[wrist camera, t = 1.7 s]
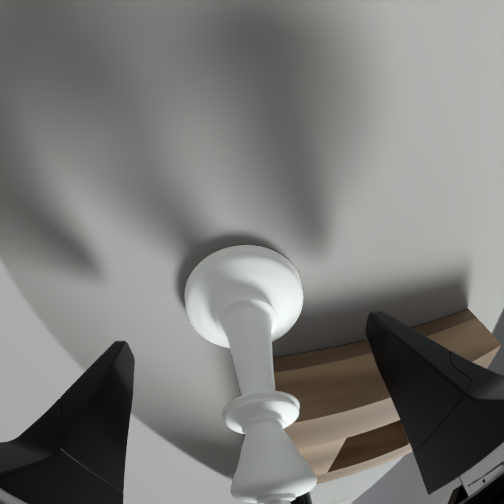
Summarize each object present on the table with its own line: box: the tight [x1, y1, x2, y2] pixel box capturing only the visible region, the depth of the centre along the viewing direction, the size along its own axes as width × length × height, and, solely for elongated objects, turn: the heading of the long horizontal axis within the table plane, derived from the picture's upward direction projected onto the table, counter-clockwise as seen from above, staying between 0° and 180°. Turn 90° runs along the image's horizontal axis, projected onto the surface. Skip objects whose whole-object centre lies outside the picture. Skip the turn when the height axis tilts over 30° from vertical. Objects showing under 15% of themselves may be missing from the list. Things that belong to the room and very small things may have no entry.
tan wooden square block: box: [273, 309, 501, 484], centre depth 15 cm, size 14×14×4 cm
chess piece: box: [185, 245, 317, 504], centre depth 7 cm, size 5×5×10 cm
